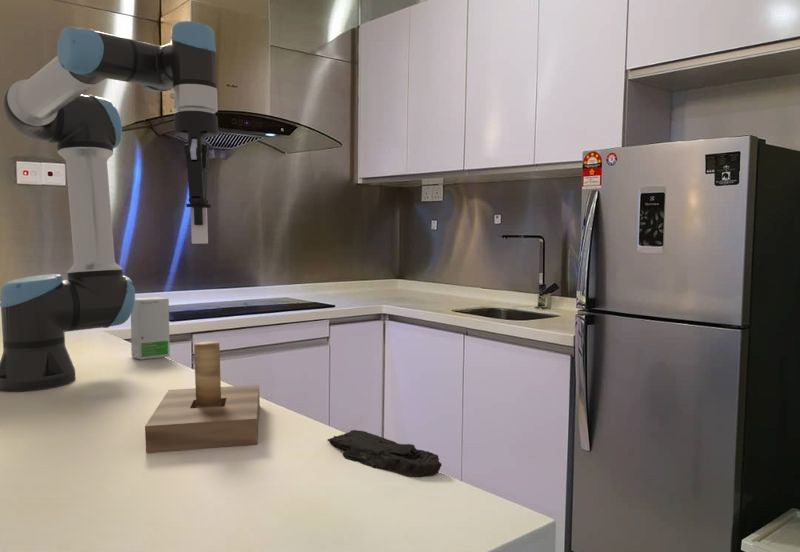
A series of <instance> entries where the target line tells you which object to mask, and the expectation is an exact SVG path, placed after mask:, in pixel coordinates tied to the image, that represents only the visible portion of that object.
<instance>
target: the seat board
mask: <svg viewBox="0 0 800 552" xmlns="http://www.w3.org/2000/svg"><path fill="white" fill-rule="evenodd" d="M260 401H261V400H260V384H250V385H249V384H248V385H232V386H231V385H229V386H221V407H205V408H196V387H195V388H180V389H179V388H178V389H177V388H176V389H168V390H167V392H166V393H165V395H164V396H163V398H162V400H160V402H159V404H158V405H157V407H156V408H155V410H154V411H153V413H152V415H151V416H150V417H149V419H148V421H147V422H146V424H145V425H144V431H145V433H144V437H145V454H147V453H148V454H149V453H161V452H163V453H164V452H174V451H188V450H199V449H200V450H201V449H215V448H226V447H228V448H229V447H238V446H239V447H241V446H243V447H244V446H253V445H254V446H255V445H256V446H257V445H258V440H259V439H258V438H259V421H260V407H261V406H260V404H261V402H260Z"/></svg>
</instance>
